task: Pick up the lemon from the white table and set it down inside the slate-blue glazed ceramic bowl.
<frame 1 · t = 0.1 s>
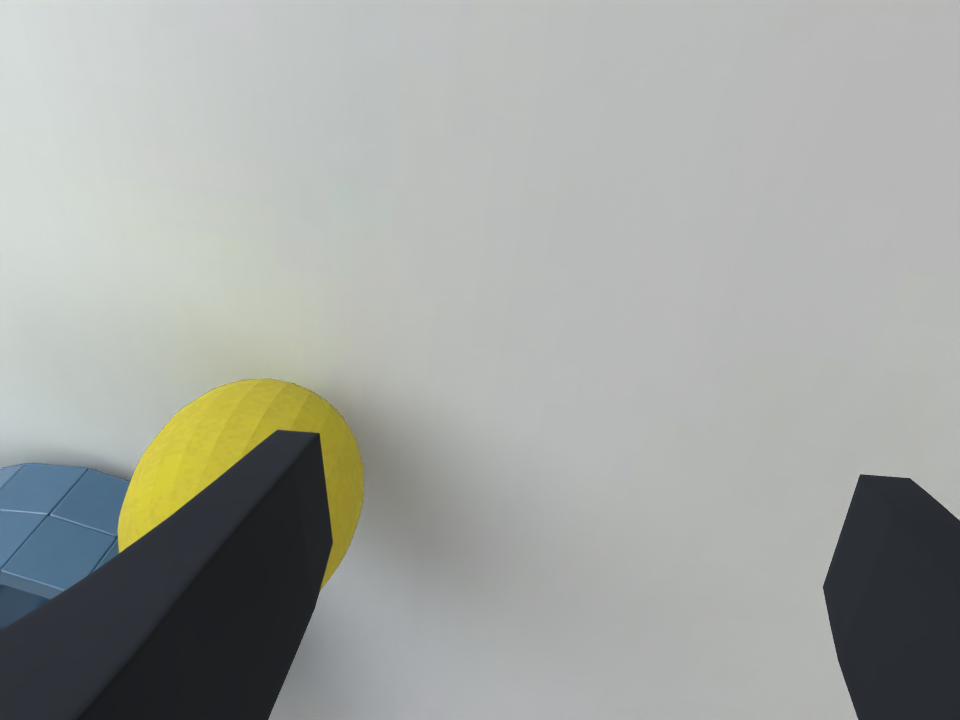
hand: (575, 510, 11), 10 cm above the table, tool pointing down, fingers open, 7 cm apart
bowl: (117, 595, 28), on the table
lemon: (302, 405, 23), on the table
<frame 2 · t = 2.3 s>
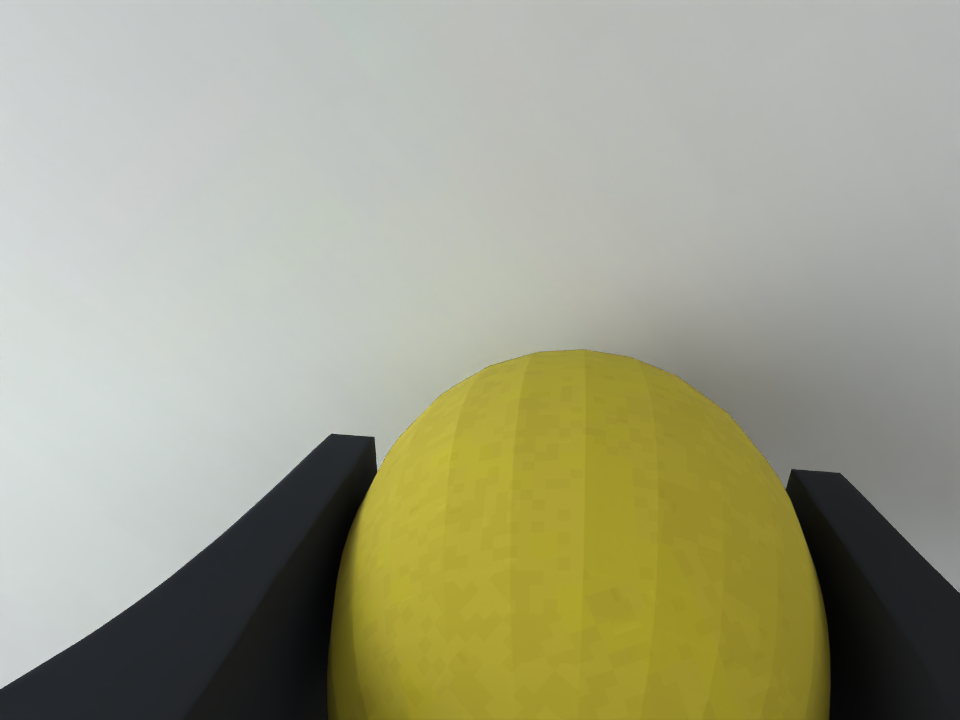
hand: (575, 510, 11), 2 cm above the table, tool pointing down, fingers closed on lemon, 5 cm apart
lemon: (574, 404, 13), on the table, touching gripper
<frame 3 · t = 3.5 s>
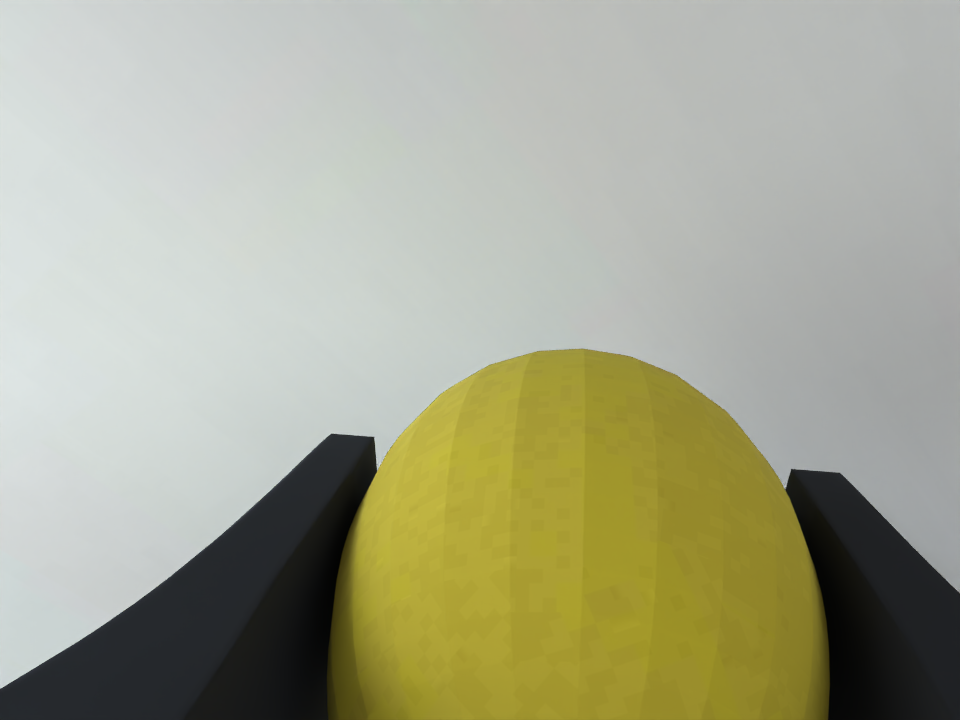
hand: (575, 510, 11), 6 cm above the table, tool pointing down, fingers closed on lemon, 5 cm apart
lemon: (574, 403, 13), point 4 cm above the table, touching gripper
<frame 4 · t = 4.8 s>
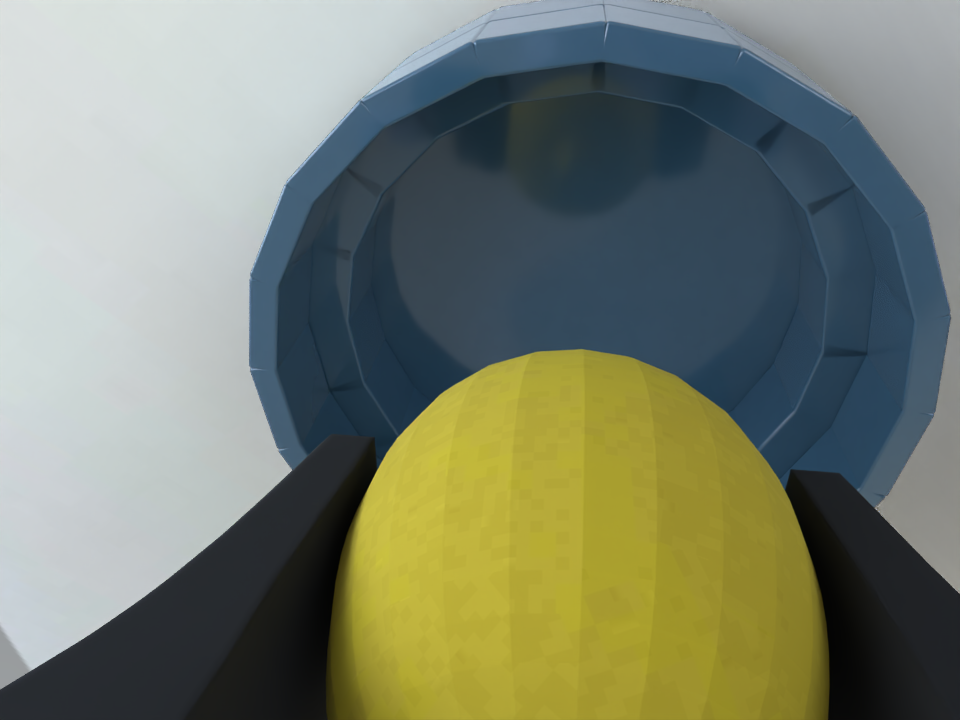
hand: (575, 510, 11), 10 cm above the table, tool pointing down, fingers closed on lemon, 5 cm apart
bowl: (579, 282, 19), on the table
lemon: (573, 404, 13), point 7 cm above the table, touching gripper
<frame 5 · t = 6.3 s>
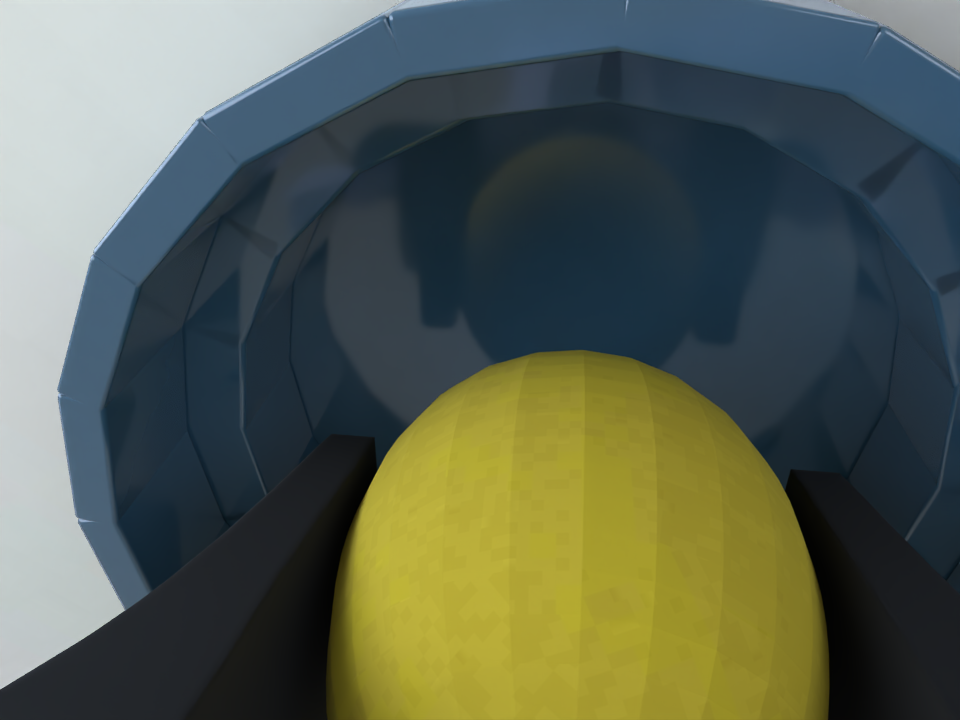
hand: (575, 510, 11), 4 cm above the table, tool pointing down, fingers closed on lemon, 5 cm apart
bowl: (577, 362, 14), on the table
lemon: (573, 404, 13), point 1 cm above the table, touching gripper
when the fingers open (3 cm above the table, at t = 7.1 s): lemon stays where it is, resting on bowl.
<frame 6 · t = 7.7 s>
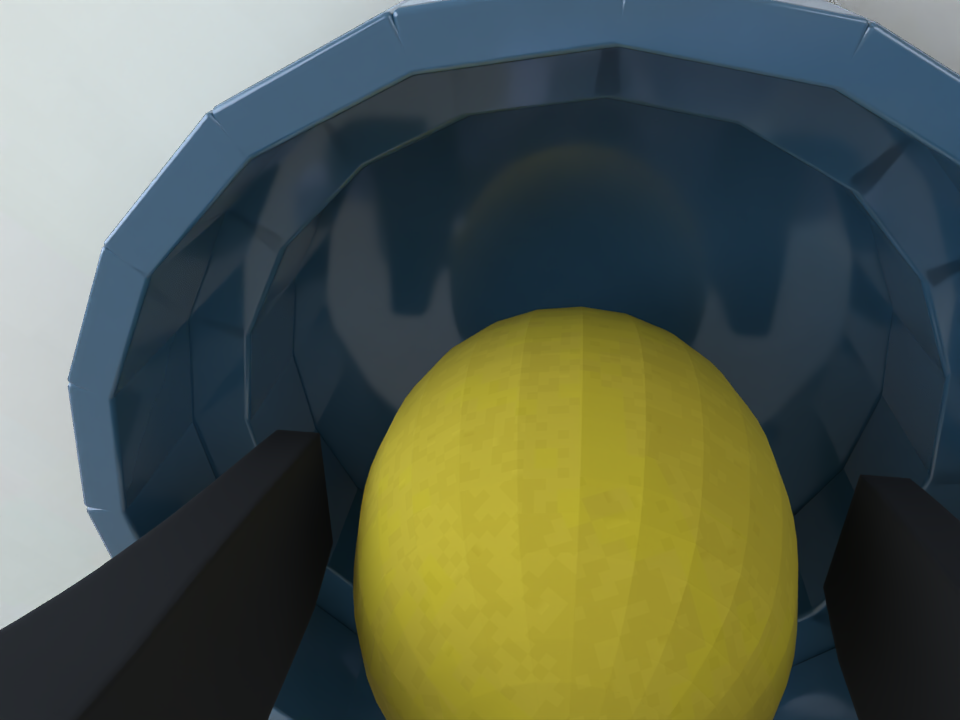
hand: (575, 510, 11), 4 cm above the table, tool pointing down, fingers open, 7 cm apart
bowl: (577, 355, 14), on the table
lemon: (573, 367, 14), resting on bowl
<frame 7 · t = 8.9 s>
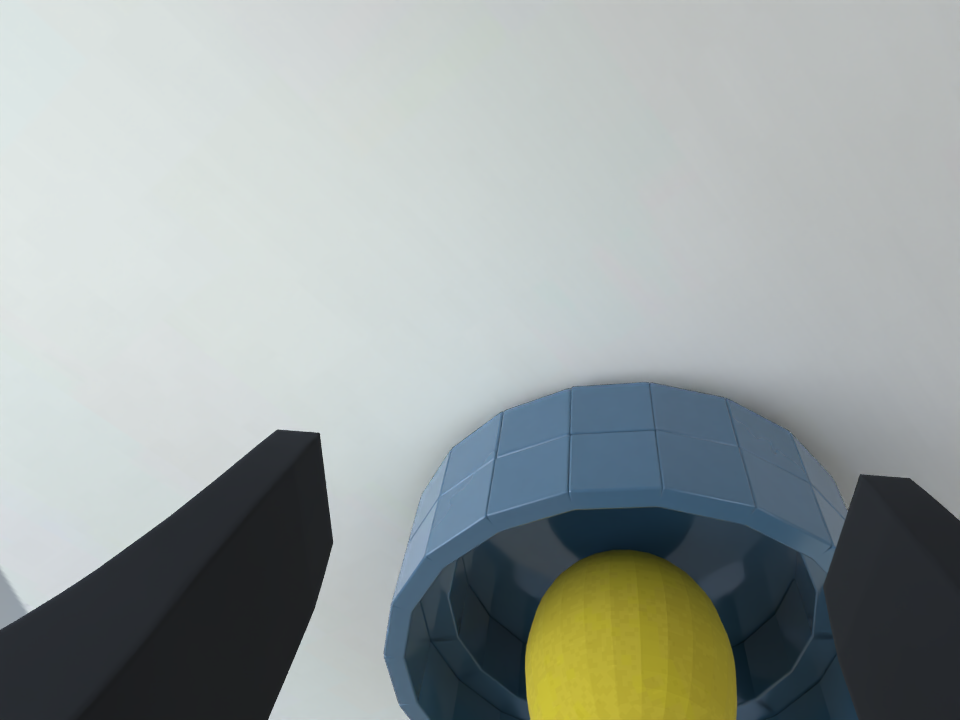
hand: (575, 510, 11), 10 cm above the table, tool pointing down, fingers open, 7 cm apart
bowl: (623, 547, 25), on the table
lemon: (621, 556, 24), resting on bowl
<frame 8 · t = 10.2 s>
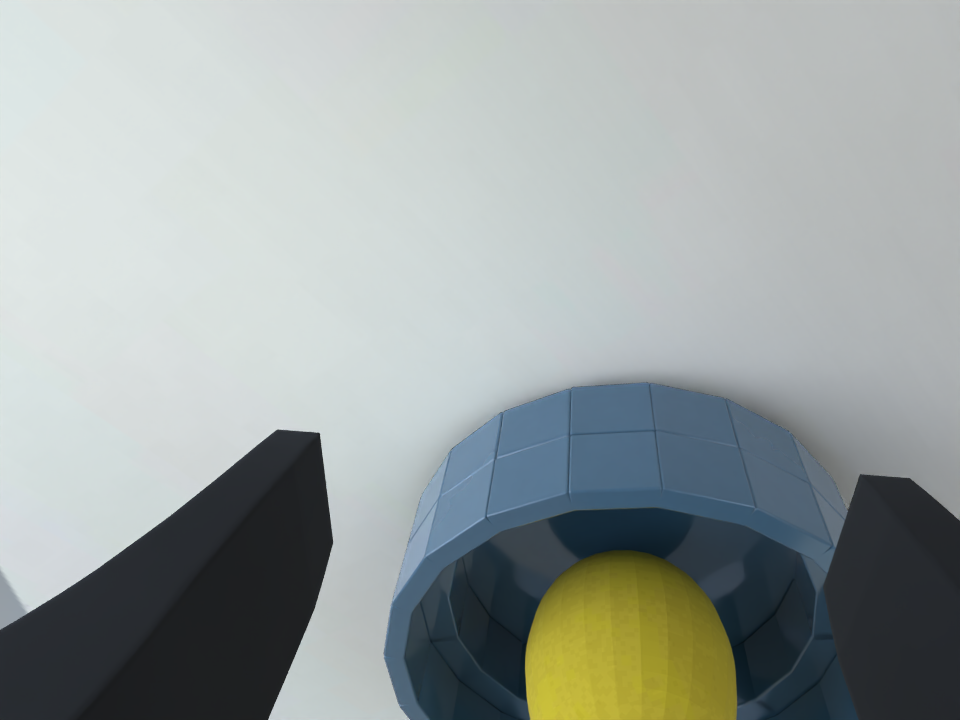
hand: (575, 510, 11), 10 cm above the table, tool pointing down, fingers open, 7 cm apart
bowl: (623, 548, 25), on the table
lemon: (621, 557, 24), resting on bowl
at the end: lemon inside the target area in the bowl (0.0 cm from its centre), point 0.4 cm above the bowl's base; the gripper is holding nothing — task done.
